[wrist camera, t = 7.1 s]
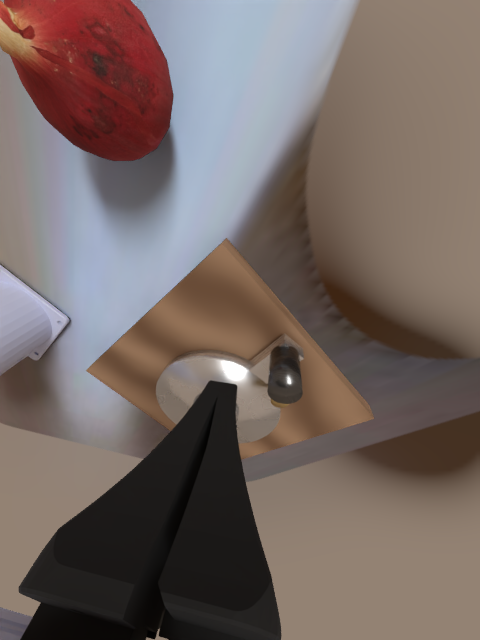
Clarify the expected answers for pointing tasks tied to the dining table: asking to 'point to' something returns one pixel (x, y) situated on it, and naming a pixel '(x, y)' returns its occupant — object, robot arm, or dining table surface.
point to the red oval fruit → (91, 72)
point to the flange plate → (250, 377)
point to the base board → (229, 349)
